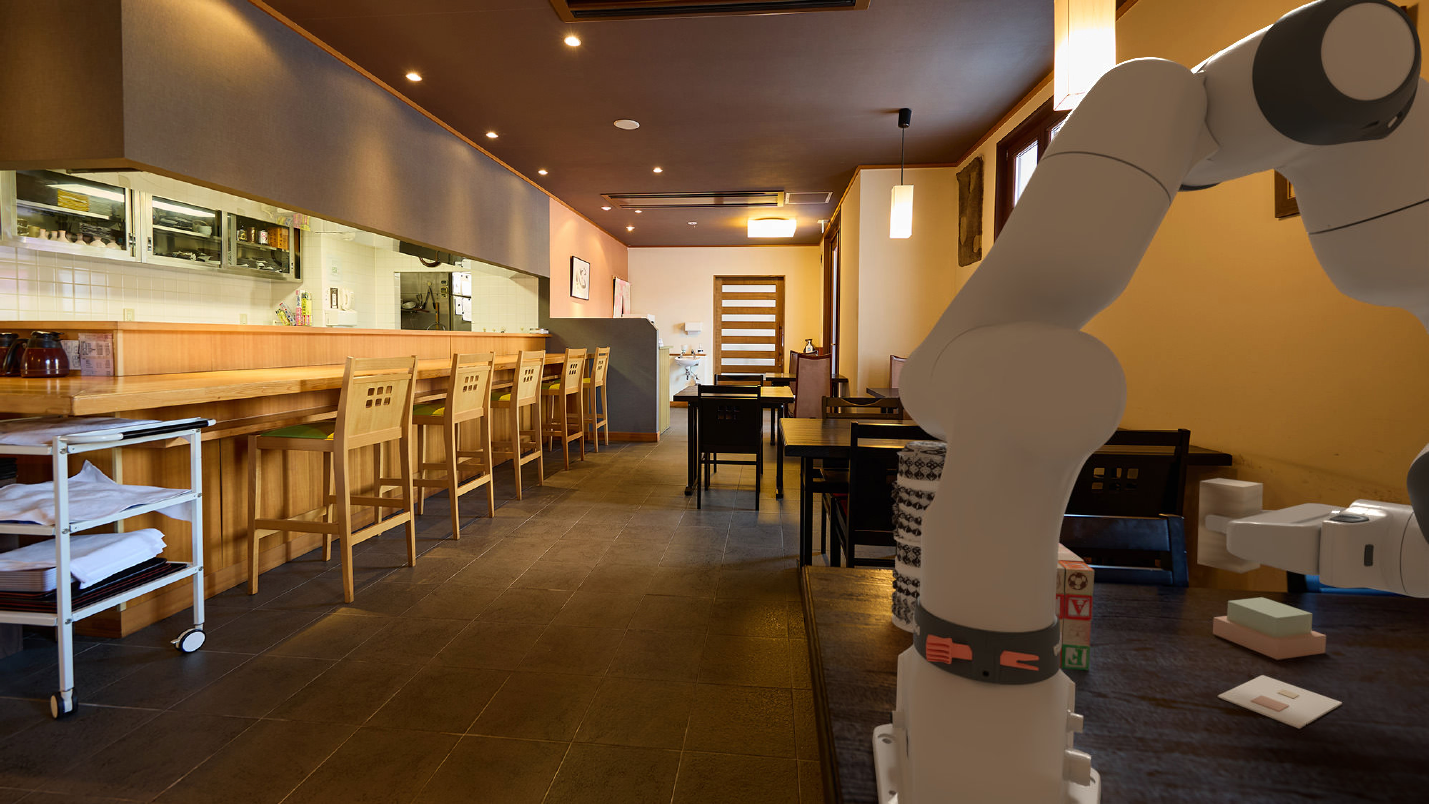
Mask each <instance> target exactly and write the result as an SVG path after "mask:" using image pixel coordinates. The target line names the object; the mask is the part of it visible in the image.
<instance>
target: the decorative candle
mask: <svg viewBox="0 0 1429 804" xmlns="http://www.w3.org/2000/svg"><path fill="white" fill-rule="evenodd" d="M946 452H947V442H941V441H940V442H939V441H927V440H918V441H917V440H916V441H909V442H907V443H906V444H905V445H904V447H902V450H901V451H898V452H896V453H897V455H898V459H899V460H898V473H897V477H896V479H897V480H895V481H892V482H891V485H892V487H893V488H894V489H893V490H892V491H891V498H892V499H894V500H895V501H896V502H895V503H894V504H893V505H892V513H893V514H894V515H892V517H891V518H892V520H891V521H892V524H893V525H895V527H896V528H895V529H894V530H892V531H893V532H892V534H893V539H894V540H896V556H895V558H894V559H895V560H894V561H895V564H894V565H895V566H894V568H893V570H892V577H893V579H894V580H892V581H891V582H892V585H891V587H892V589H894V591H893V592H892V594H891V602H892V604H891V607H890V608H891V613H892V615H891V623H893V624H894V625H895V626H896V627H897V628H899V629H901V630H903V631H906V632H908V633H912V634H913V631H914V628H913V613H914V610H915V600H916V599H917V597H918V596H920V572H921V535H922V518H923V514H924V512H925V510H926V508H927V507H928V506H929V505H930V504H931V503H932V501H933V499H934V497H935V494H936V491H937V488H938V485H939V482H940V478H941V474H942V470H943V466H944V462H945V458H946Z"/></svg>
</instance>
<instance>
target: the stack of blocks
mask: <svg viewBox="0 0 1429 804" xmlns="http://www.w3.org/2000/svg"><path fill="white" fill-rule="evenodd" d="M1094 579H1095V570H1094V569H1093V568H1092V567H1090V566H1089V565H1088V564H1087V563H1086V562H1085V561H1084V559H1082V558H1081V557H1080V556H1078V555H1077V554H1076V553H1074V552H1073V551H1071V550H1070V549H1068V548H1067V547H1066V546H1064V545H1063V544H1062V543H1060V542H1059V547H1058V564H1057V582H1056V602H1055V614H1056V615H1057V616H1058V618H1059V620H1060V632H1061V636H1062V647H1061V650H1060V669H1068V670H1069V669H1070V670H1071V669H1072V670H1081V671H1082V670H1083V671H1089V670H1090V659H1091V645H1090V644H1091V632H1092V630H1091V629H1092V622H1091V621H1092V620H1093V604H1094V603H1093V602H1094V596H1093V594H1094V583H1095V582H1094V581H1095V580H1094Z"/></svg>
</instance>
